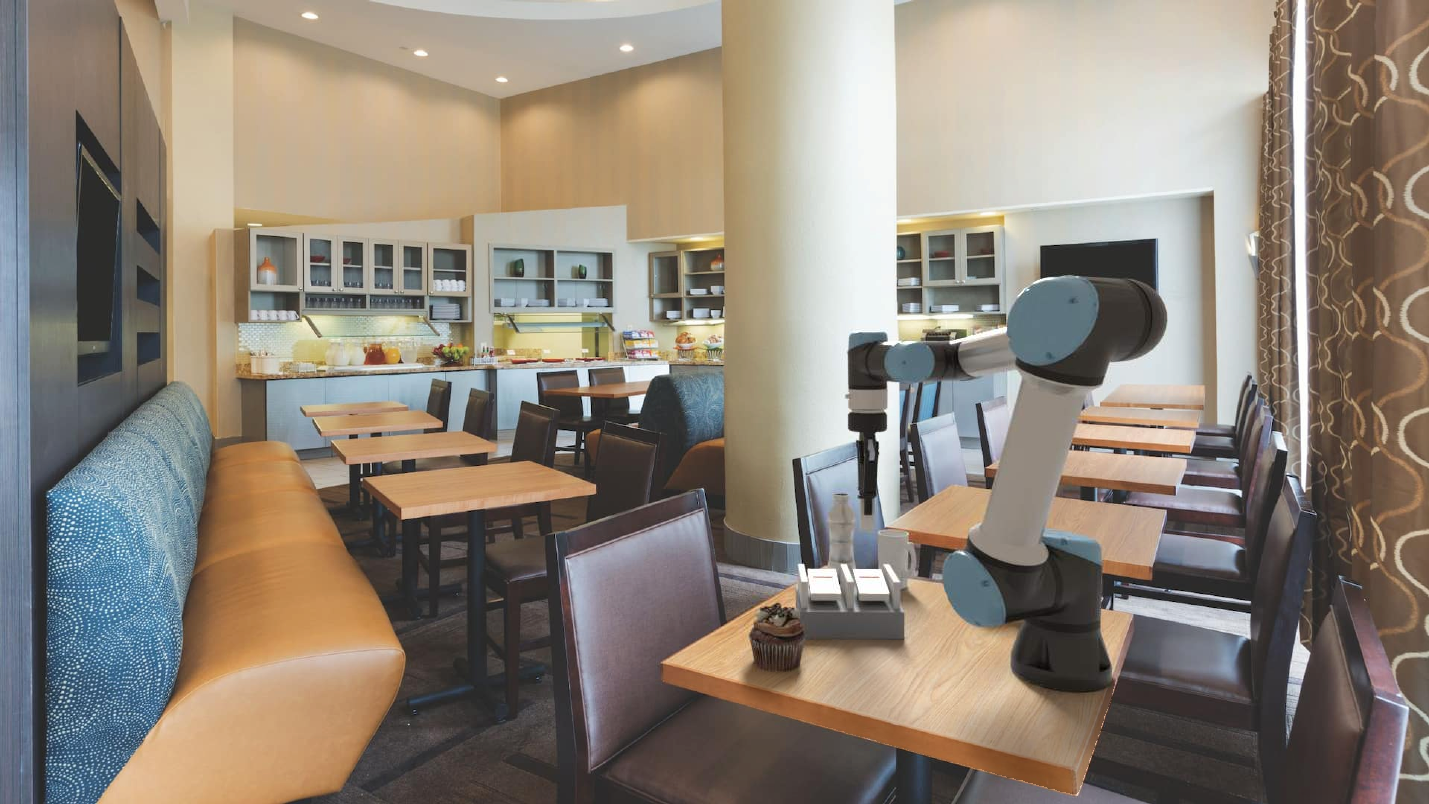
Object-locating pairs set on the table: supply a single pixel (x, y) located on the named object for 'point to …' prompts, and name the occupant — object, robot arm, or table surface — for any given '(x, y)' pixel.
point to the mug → (896, 554)
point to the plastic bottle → (841, 534)
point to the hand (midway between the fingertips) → (866, 530)
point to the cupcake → (777, 638)
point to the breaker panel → (851, 610)
